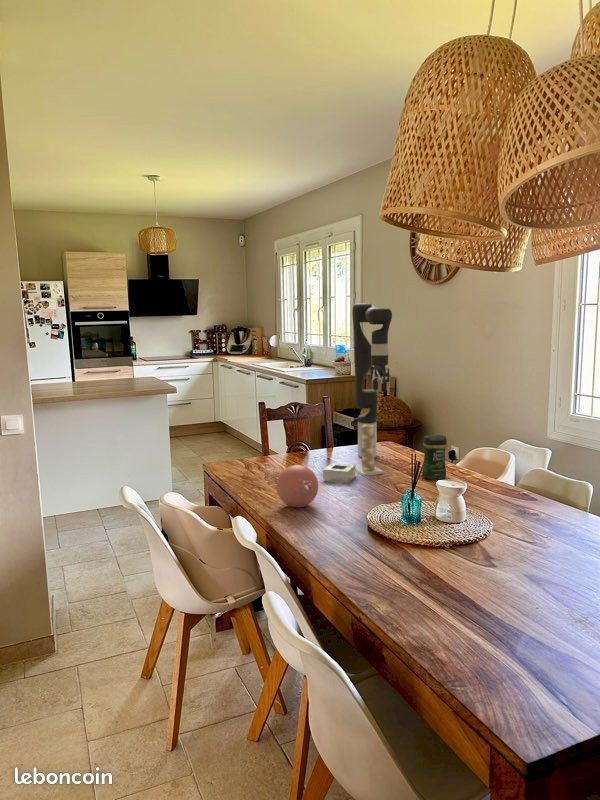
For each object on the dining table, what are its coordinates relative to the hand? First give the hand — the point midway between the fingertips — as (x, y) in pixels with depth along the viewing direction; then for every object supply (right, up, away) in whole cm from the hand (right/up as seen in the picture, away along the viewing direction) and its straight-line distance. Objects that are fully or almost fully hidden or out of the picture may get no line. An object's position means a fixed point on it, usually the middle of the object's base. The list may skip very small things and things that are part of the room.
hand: (379, 390), depth 251 cm
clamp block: (-18, -38, -7) cm, 43 cm away
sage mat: (-5, -36, +2) cm, 37 cm away
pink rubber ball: (-36, -44, -44) cm, 72 cm away
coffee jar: (+22, -38, -9) cm, 44 cm away
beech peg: (-5, -35, +2) cm, 36 cm away
